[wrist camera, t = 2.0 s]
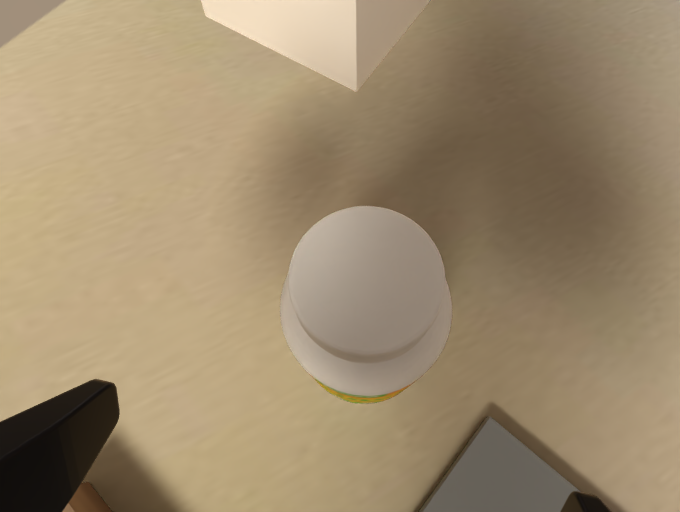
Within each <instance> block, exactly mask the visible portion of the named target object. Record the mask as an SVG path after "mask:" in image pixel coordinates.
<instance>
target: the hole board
mask: <svg viewBox="0 0 680 512" xmlns="http://www.w3.org/2000/svg"><path fill="white" fill-rule="evenodd" d="M62 512H112V511H111V510H110V508H109V507H108V506H107V505H106V503H105V502H104V501H103V500H102V498H101V497H100V496H99V495H98V493H97V492H96V491H95V490H94V488H93V487H92V486H91V485H90V483H89V482H85V483H81V485H80V486H79V488H78V489H77V491H76V492H75V494H74V496H73V497H72V499H71V500H70V501H69V503H68V504H67V506H66V507H65V509H64V510H63V511H62Z"/></svg>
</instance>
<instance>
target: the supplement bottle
mask: <svg viewBox="0 0 680 512" xmlns="http://www.w3.org/2000/svg"><path fill="white" fill-rule="evenodd" d="M280 317H281V325H282V329H283V333H284V336H285V339H286V341H287V344H288V346H289V348H290V350H291V352H292V353H293V355H294V356H295V358H296V359H297V361H298V362H299V364H300V365H301V366H302V367H303V368H304V369H305V371H306V372H307V373H309V374H310V375H311V376H312V377H313V378H314V379H315V380H316V381H317V382H318V383H319V384H320V385H321V386H322V387H323V388H324V389H325V390H327V391H328V392H329V393H331V394H332V395H334V396H336V397H338V398H340V399H342V400H345V401H348V402H352V403H359V404H369V403H377V402H381V401H384V400H387V399H390V398H392V397H394V396H396V395H397V394H399V393H400V392H402V391H403V390H404V389H406V388H407V387H408V386H410V385H411V384H412V383H414V382H415V381H416V380H418V379H419V378H420V377H422V376H423V375H424V374H425V373H426V372H427V371H428V370H429V369H430V368H431V367H432V365H433V364H434V363H435V361H436V360H437V359H438V357H439V356H440V354H441V352H442V350H443V348H444V346H445V344H446V342H447V339H448V336H449V332H450V328H451V322H452V301H451V295H450V290H449V287H448V284H447V281H446V279H445V269H444V264H443V261H442V258H441V255H440V253H439V251H438V249H437V247H436V245H435V243H434V242H433V241H432V239H431V238H430V236H429V235H428V234H427V233H426V231H425V230H424V229H423V228H421V227H420V226H419V225H418V224H417V223H416V222H414V221H413V220H412V219H410V218H408V217H406V216H405V215H403V214H401V213H399V212H396V211H393V210H390V209H387V208H382V207H376V206H355V207H350V208H345V209H342V210H339V211H336V212H334V213H331V214H329V215H327V216H326V217H324V218H323V219H321V220H320V221H318V222H317V223H316V224H314V225H313V226H312V227H311V228H310V229H309V230H308V231H307V232H306V233H305V234H304V236H303V237H302V238H301V240H300V241H299V243H298V245H297V246H296V248H295V250H294V253H293V256H292V259H291V261H290V266H289V272H288V275H287V277H286V279H285V282H284V285H283V289H282V294H281V300H280Z"/></svg>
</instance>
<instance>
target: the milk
mask: <svg viewBox="0 0 680 512" xmlns="http://www.w3.org/2000/svg"><path fill="white" fill-rule="evenodd" d="M430 1H431V0H201V2H202V5H203V8H204V12H205V15H206V17H208V18H210V19H212V20H214V21H216V22H218V23H220V24H222V25H224V26H226V27H228V28H230V29H232V30H234V31H236V32H238V33H240V34H242V35H244V36H246V37H248V38H250V39H252V40H254V41H256V42H258V43H260V44H262V45H264V46H266V47H268V48H270V49H272V50H274V51H276V52H278V53H280V54H282V55H284V56H286V57H288V58H290V59H292V60H294V61H296V62H298V63H300V64H302V65H304V66H306V67H308V68H310V69H312V70H314V71H316V72H318V73H320V74H322V75H324V76H326V77H328V78H330V79H332V80H334V81H336V82H338V83H339V84H341V85H343V86H345V87H347V88H349V89H351V90H353V91H355V92H357V91H358V90H359V89H360V87H361V86H362V85H363V84H364V82H365V81H366V80H367V79H368V78H369V76H370V75H371V74H372V73H373V71H374V70H375V69H376V68H377V66H378V65H379V64H380V63H381V61H382V60H383V59H384V58H385V56H386V55H387V54H388V53H389V52H390V50H391V49H392V48H393V47H394V45H395V44H396V43H397V42H398V40H399V39H400V38H401V37H402V35H403V34H404V33H405V32H406V30H407V29H408V28H409V27H410V26H411V24H412V23H413V22H414V21H415V19H416V18H417V17H418V16H419V14H420V13H421V12H422V11H423V9H424V8H425V7H426V6H427V4H428V3H429V2H430Z"/></svg>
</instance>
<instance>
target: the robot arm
mask: <svg viewBox="0 0 680 512" xmlns="http://www.w3.org/2000/svg"><path fill="white" fill-rule="evenodd" d="M118 419H119V404H118V396H117V389H116V386H115V385H114V383H112V382H108V381H103V380H99V379H94V380H91V381H89V382H86V383H84V384H82V385H80V386H78V387H75V388H73V389H71V390H69V391H67V392H64V393H62V394H60V395H58V396H56V397H54V398H51V399H49V400H47V401H45V402H43V403H40V404H38V405H36V406H34V407H32V408H29V409H27V410H25V411H23V412H21V413H19V414H16V415H14V416H12V417H10V418H8V419H5V420H3V421H1V422H0V512H62V511H63V510H64V509H65V507H66V506H67V504H68V503H69V501H70V500H71V499H72V497H73V496H74V494H75V492H76V491H77V489H78V488H79V486H80V485H81V483H82V481H83V480H84V478H85V476H86V474H87V473H88V471H89V469H90V468H91V466H92V464H93V463H94V461H95V459H96V458H97V456H98V454H99V453H100V451H101V449H102V448H103V446H104V444H105V443H106V441H107V439H108V438H109V436H110V434H111V433H112V431H113V429H114V427H115V426H116V424H117V422H118ZM560 512H611V511H610V510H609V509H608V507H607V506H606V505H605V504H604V503H603V502H602V501H601V500H600V499H599V498H598V497H597V496H595V495H591V494H587V493H583V492H578V491H573V492H571V493H570V494H569V496H568V498H567V500H566V502H565V504H564V506H563V508H562V509H561V511H560Z"/></svg>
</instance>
